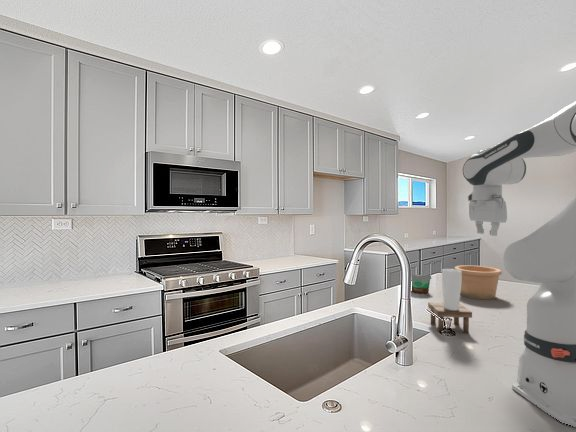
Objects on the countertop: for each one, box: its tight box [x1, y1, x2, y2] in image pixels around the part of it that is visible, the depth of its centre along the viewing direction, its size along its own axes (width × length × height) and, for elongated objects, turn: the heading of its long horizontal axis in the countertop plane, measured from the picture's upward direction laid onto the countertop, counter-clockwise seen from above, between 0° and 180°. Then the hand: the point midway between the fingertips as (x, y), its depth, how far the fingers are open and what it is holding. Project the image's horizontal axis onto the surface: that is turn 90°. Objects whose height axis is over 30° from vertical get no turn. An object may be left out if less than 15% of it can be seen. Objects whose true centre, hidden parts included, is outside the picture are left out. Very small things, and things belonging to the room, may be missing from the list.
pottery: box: [454, 264, 503, 300], centre depth 178 cm, size 22×22×14 cm
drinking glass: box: [441, 268, 462, 311], centre depth 127 cm, size 7×7×15 cm
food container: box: [411, 274, 432, 295], centre depth 183 cm, size 12×6×10 cm, turn 73°
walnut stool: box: [427, 301, 473, 334], centre depth 130 cm, size 12×12×8 cm
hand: (486, 234), depth 118 cm, fingers open, 8 cm apart
